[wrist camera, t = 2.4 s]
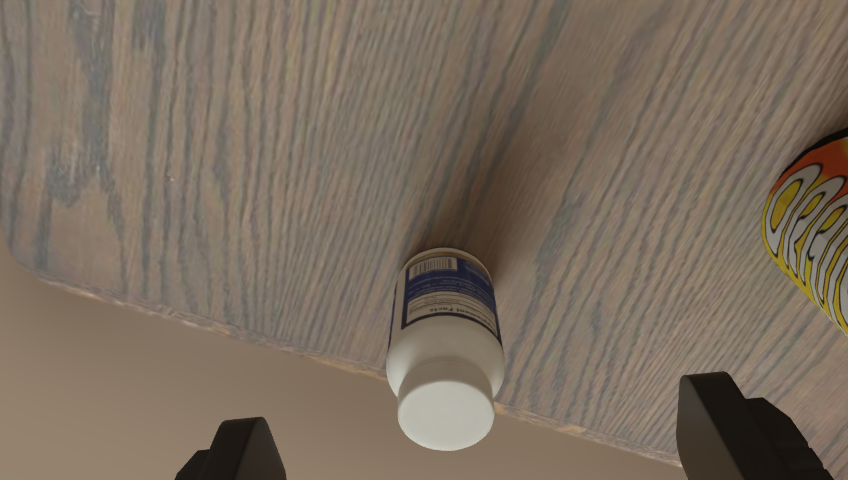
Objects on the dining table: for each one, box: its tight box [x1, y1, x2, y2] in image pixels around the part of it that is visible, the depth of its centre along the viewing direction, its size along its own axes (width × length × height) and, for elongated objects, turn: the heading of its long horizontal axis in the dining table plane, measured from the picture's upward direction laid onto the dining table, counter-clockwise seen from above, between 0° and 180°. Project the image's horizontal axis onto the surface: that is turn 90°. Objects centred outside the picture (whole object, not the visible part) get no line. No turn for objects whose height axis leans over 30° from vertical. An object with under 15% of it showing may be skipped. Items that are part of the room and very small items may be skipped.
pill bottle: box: [386, 248, 505, 451], centre depth 28 cm, size 5×5×10 cm
